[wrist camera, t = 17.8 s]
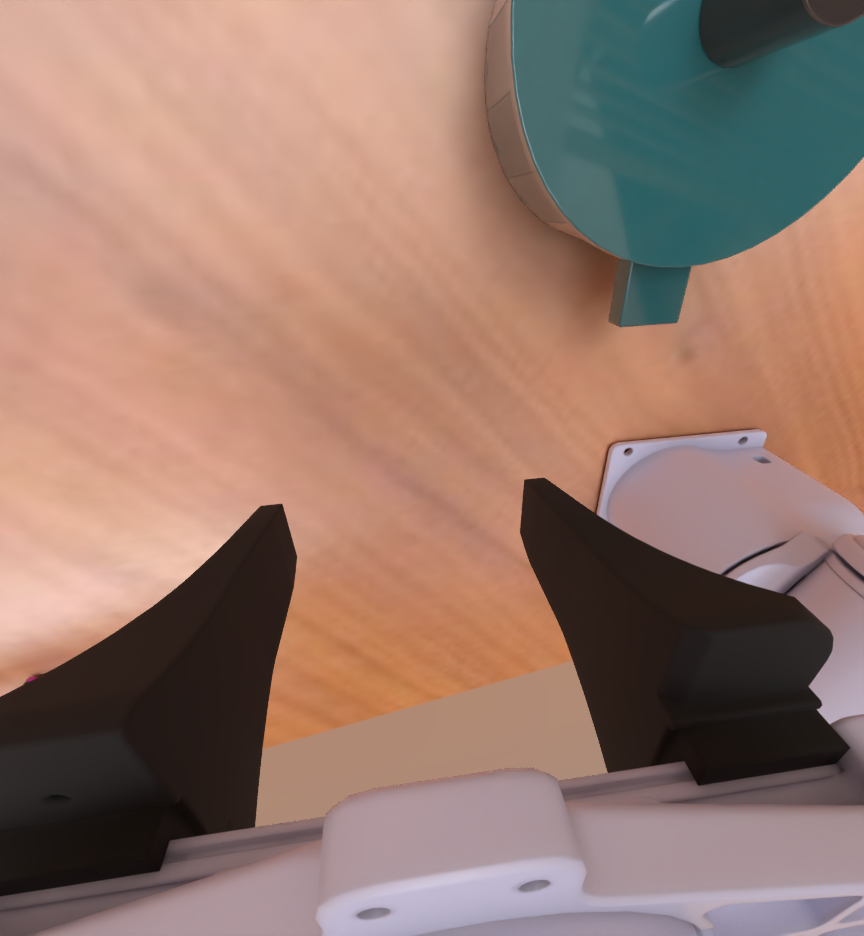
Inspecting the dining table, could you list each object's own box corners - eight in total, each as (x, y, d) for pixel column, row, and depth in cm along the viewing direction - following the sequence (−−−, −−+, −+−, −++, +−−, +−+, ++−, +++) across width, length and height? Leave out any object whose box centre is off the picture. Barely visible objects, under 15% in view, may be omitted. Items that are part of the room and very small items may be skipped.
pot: (874, -320, 12) (1173, -638, 8) (706, 295, 21) (798, 319, 16) (490, -337, 11) (567, -701, 7) (480, 311, 20) (512, 341, 16)
